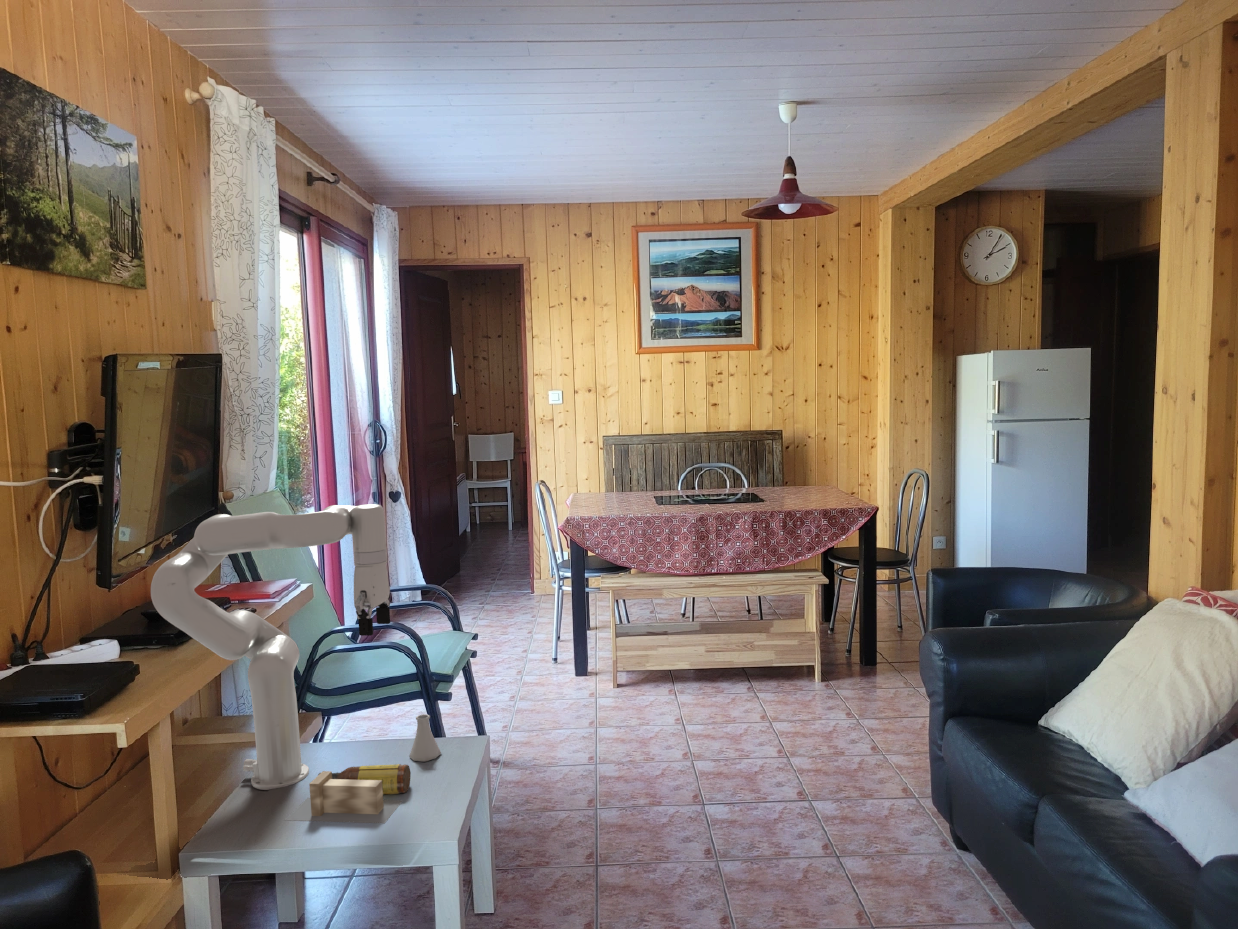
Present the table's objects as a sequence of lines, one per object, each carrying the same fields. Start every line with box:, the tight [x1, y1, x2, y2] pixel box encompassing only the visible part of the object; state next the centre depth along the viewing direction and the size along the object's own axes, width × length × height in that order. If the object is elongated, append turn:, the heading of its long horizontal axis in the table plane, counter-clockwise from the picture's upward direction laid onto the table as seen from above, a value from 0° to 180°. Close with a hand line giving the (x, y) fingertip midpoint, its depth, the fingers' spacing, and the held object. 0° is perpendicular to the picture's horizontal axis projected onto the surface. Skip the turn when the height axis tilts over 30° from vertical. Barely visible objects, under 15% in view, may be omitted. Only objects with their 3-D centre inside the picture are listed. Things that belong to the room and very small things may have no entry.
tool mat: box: [284, 797, 404, 824], centre depth 185 cm, size 22×10×1 cm, turn 82°
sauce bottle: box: [317, 763, 411, 795], centre depth 193 cm, size 6×6×20 cm
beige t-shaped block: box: [308, 770, 384, 816], centre depth 185 cm, size 14×6×7 cm, turn 82°
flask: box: [408, 713, 442, 763], centre depth 212 cm, size 7×7×10 cm
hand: (375, 629), depth 205 cm, fingers open, 9 cm apart
